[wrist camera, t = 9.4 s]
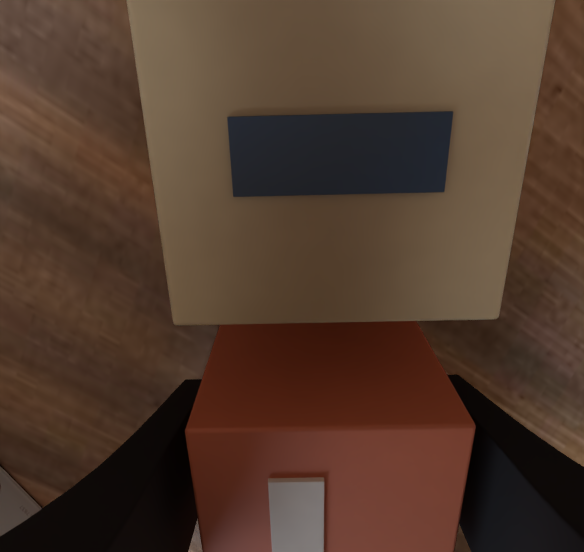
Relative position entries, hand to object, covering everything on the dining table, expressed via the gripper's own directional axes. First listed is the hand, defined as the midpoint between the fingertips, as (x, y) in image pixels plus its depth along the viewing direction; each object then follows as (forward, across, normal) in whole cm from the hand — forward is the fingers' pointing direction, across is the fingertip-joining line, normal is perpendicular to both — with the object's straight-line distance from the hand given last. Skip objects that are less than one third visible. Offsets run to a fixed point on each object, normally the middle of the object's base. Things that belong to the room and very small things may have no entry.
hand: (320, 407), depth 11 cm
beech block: (+1, 0, -7) cm, 7 cm away
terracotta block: (+1, 0, 0) cm, 1 cm away
